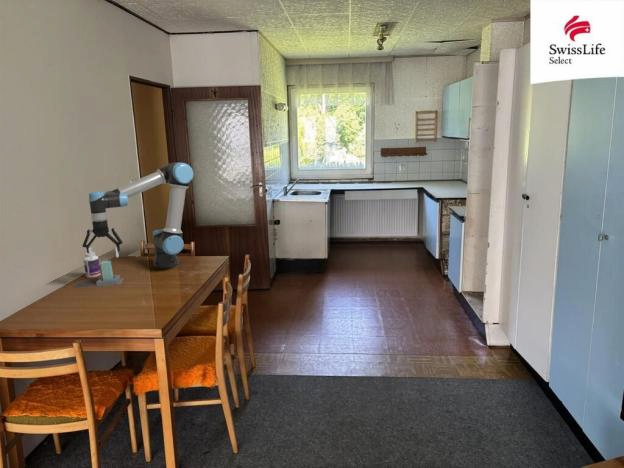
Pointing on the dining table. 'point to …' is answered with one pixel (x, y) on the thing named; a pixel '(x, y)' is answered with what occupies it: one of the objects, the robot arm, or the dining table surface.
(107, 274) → the plug
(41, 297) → the dining table surface
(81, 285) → the mat
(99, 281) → the grey socket tray
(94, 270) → the pill bottle
